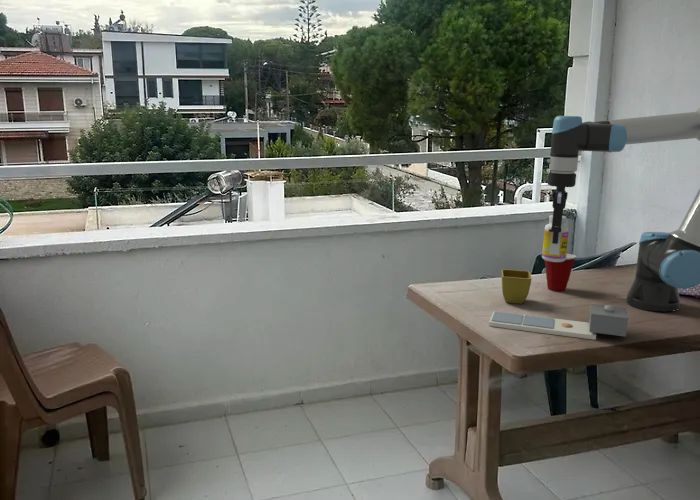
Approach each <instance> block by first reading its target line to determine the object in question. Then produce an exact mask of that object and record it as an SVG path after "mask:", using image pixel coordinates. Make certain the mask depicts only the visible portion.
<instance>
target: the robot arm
mask: <svg viewBox="0 0 700 500" xmlns="http://www.w3.org/2000/svg"><path fill="white" fill-rule="evenodd" d="M690 139H696V140H697V141H698V142H700V107H699V108H698V109H696V111H691V112H682V113H671V114H660V115H652V116H651V115H650V116H642V117H641V116H639V117H629V118H621V119H611V120H609V119H608V120H600V121H591V120H590V121H584V122H583V118H582V116H580V115H579V116H578V115H577V116H575V115H557V116H556V117H554V119H553V124H552V130H551V143H550V155H549V158H548V159H547V160H546V161H547V163H549V164H548V165H549V167H548V170H549V172H548V173H547V185H548V186H550V187H556V188H555V189H556V190H554V191H553V192H552V208H553V212H552V215H553V221H552V228H551V229H549V232H551V238H550V248H549V254H554V255H559V249H560V239H561V224H562V216H564V209H566V205H567V200H568V196H569V195H568V194H569V192H568V191H566V188H573V187H575V186H576V181H577V180H576V179H577V173H576V172H577V171H578V163H579V153H580V152H602V153H605V152H606V153H619V152H622V151H623V150H624V149H625V146H626V145H636V144H637V145H638V144H646V143H659V142H668V141H669V142H670V141H679V140H690ZM555 226H556V227H555ZM638 244H639V245H638V253H637V255H638V256H637V262H636V270H635V271H636V272H635V277H634V279H633V282H632V283H631V286H630V287H629V290H628V292H627V294H626V299H625V302H626V303H627V304H628V305H630V306H631V307H633V308H636V309H640V310H645V311H648V310H650V311H649V312H655V311H673V310H677V309H679V310H680V306H681V299H680V293H679V289H681V290H685V289H691V288H695V287H697V286H698V285H700V188H699V189H698V190H697V192H696V195H695V197H694V198H693V201H692V202H691V205H690V206H689V209H688V210H687V212H686V214H685V215H684V218H683V220H682V222H681V223H680V225H679V227H678V229H677V230H676V229H675V230H672V231H670V232H667V231H666V232H665V231H662V232H661V231H646V232H643V233H641V236H640V240H639V242H638ZM677 311H678V310H677ZM673 312H674V311H673Z"/></svg>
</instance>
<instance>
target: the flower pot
mask: <svg viewBox="0 0 700 500" xmlns="http://www.w3.org/2000/svg"><path fill="white" fill-rule="evenodd" d="M532 279H533V278H532V275H531V272H530V271H529V270H521V269H519V270H518V269H516V270H515V269H506V268H505V269H501V288H502V291H501V292H502V296H503V299H504V302H506V303H508V304H510V303H511V304H521V305H522V304H524V302H525V301H526V299H527V297H528V295H529V293H530V288H531V284H532Z"/></svg>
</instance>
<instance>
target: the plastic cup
mask: <svg viewBox="0 0 700 500" xmlns="http://www.w3.org/2000/svg"><path fill="white" fill-rule="evenodd" d="M576 259H577V255H574V254H572V253H571V254H570V253H566V259H565V261H563V262H551V261H546V260H544V259H543V260H544V264H545V265H544V266H545V276H546V285H547V290H549V291H552V292H561V293H562V292H565V291H566V289H567V287H568V283H569V280H570V276H571V273H572V268H573V267H574V263H575V260H576Z"/></svg>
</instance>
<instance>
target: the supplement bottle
mask: <svg viewBox="0 0 700 500" xmlns="http://www.w3.org/2000/svg"><path fill="white" fill-rule="evenodd" d="M548 217H549V218H548V224H545V226H544V231H543V232H544V233H543V242H542V252H541V253H542V254H541V258H542V259H543V260H546V261H551V262H563V261H565V259H566V254H567V251H568V242H569V241H568V240H569V232H570V230H569V229H570V228H569V226H568V225H566V222H567V216H565V215H563V216H562V224H561V239H560V249H559V255H554V254H549V248H550V238H551V232H549V229H551V228H552V221H553V214H550V215H549V216H548ZM555 227H556V226H555Z"/></svg>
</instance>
